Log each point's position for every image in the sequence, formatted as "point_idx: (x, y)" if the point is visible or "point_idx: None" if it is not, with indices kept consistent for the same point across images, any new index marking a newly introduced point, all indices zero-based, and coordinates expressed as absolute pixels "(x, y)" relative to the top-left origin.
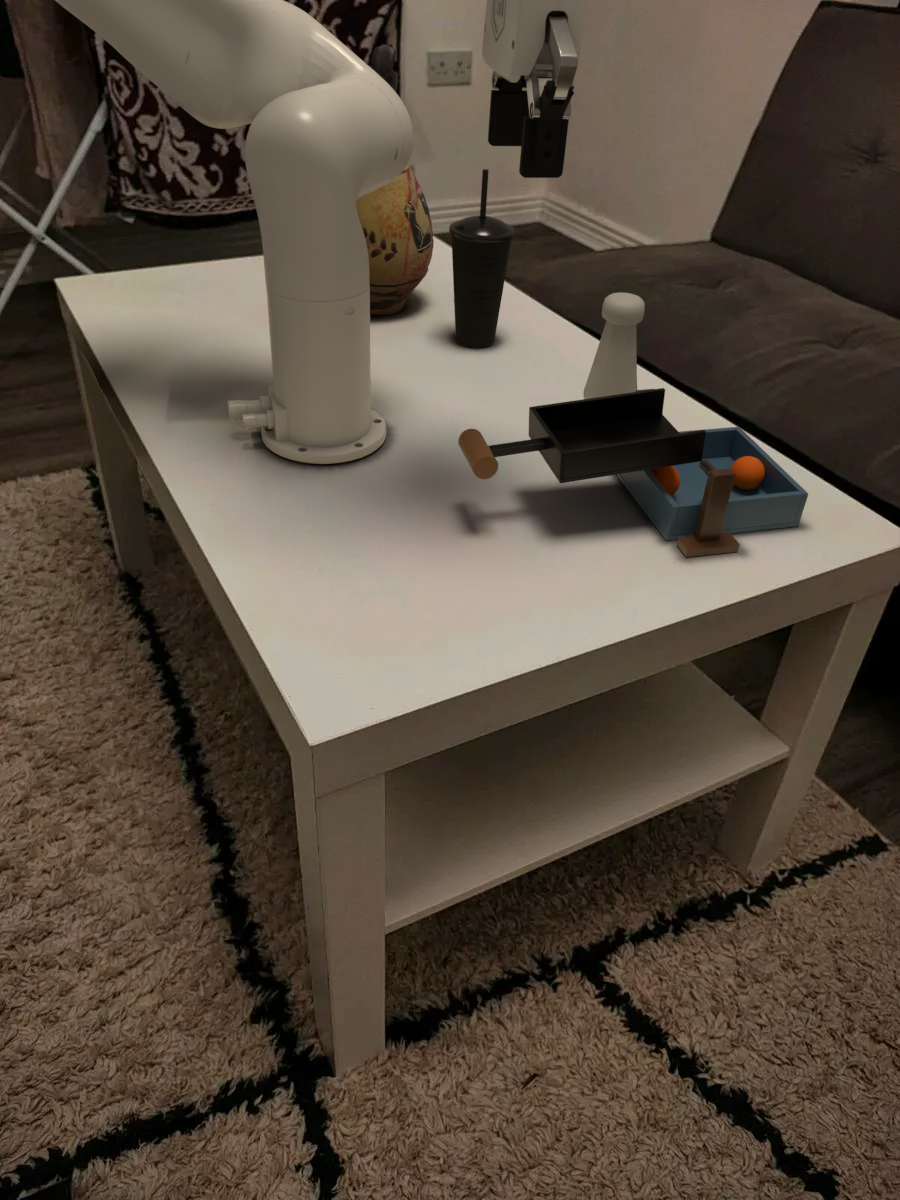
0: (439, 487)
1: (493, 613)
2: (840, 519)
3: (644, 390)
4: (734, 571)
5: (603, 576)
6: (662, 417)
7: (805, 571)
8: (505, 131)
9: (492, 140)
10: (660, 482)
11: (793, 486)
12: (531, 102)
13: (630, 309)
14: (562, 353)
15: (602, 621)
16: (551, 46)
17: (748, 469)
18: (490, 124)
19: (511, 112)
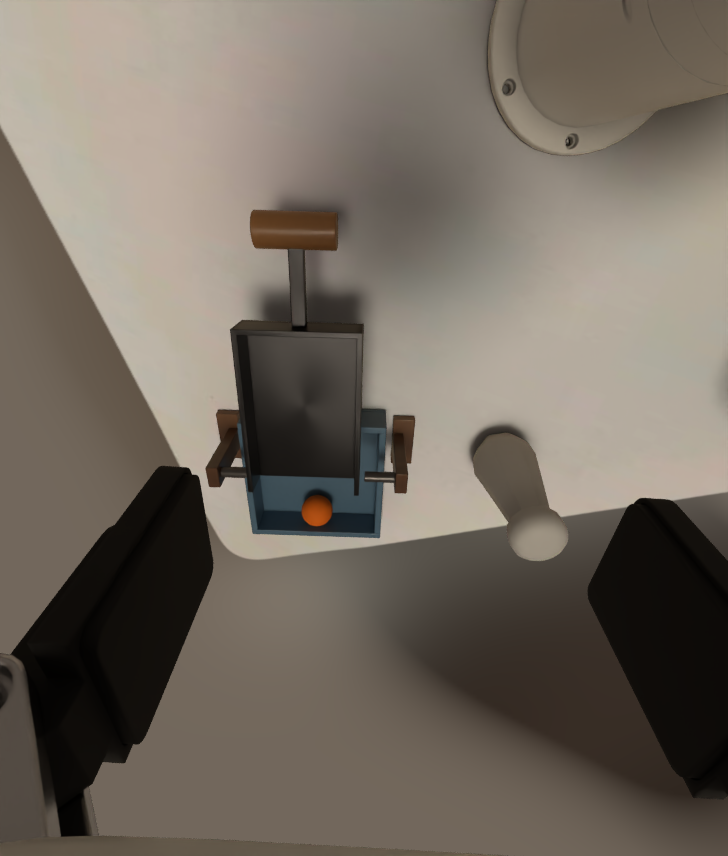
0: (389, 198)
1: (123, 185)
2: (268, 541)
3: (404, 482)
4: (197, 437)
5: (190, 326)
6: (348, 475)
7: None
8: (636, 574)
9: (638, 512)
10: None
11: (267, 529)
12: None
13: (512, 538)
14: (663, 460)
15: (117, 296)
16: None
17: (305, 511)
18: (687, 548)
19: (668, 653)
